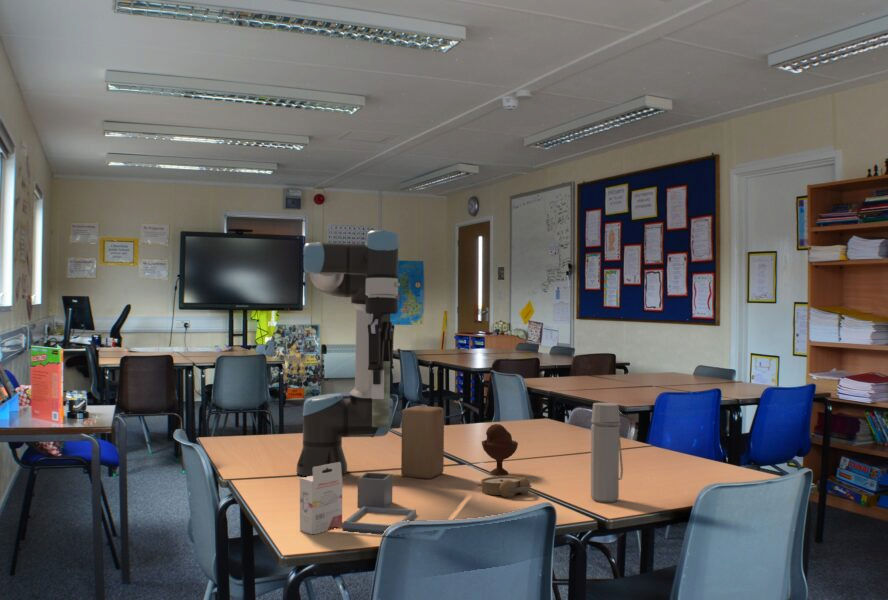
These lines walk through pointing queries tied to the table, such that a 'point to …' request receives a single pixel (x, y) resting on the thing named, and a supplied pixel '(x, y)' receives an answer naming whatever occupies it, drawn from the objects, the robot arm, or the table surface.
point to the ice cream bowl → (499, 446)
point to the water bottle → (605, 452)
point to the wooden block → (422, 442)
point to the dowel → (382, 401)
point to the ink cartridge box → (321, 499)
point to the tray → (374, 528)
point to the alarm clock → (505, 486)
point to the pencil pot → (375, 490)
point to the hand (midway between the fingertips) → (380, 397)
